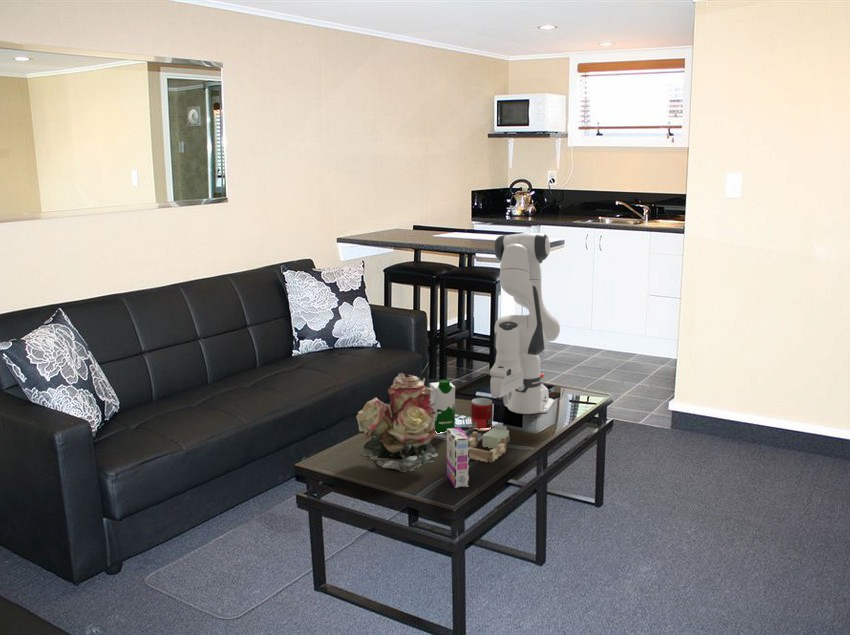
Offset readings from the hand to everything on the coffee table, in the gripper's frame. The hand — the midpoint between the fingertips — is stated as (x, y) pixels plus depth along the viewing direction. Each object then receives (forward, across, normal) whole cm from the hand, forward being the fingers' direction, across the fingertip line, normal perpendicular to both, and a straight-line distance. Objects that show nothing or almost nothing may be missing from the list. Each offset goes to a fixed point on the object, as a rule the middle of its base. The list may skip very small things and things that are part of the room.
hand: (507, 403), depth 299 cm
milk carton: (+13, +6, -24) cm, 28 cm away
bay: (+13, +19, 0) cm, 23 cm away
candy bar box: (+14, +44, +4) cm, 46 cm away
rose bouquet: (+14, +36, -22) cm, 45 cm away
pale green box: (+13, +9, 0) cm, 16 cm away
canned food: (+13, -3, -12) cm, 18 cm away
